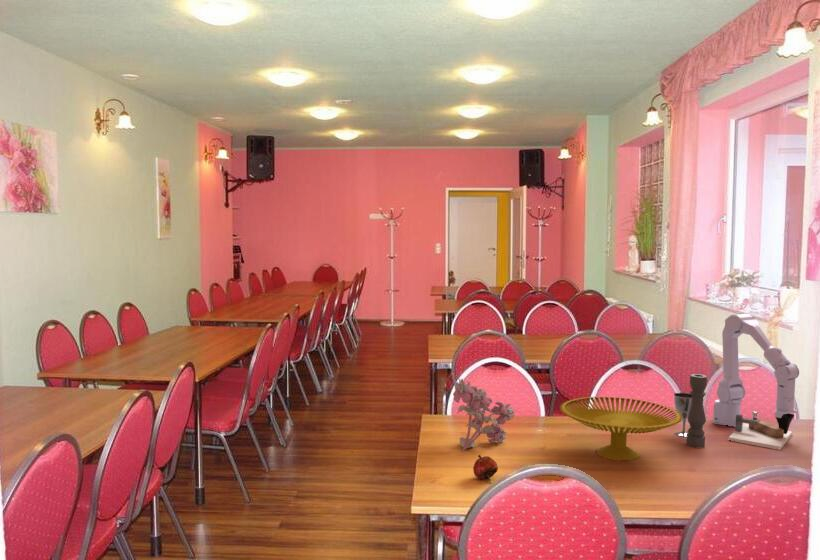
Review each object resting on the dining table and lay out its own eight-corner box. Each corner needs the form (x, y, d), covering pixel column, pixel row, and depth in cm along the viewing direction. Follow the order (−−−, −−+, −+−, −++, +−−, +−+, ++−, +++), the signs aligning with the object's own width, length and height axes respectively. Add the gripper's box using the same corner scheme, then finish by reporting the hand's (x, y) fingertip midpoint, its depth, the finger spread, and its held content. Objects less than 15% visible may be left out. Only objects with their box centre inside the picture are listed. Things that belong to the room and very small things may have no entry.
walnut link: (746, 426, 271) (746, 418, 271) (755, 425, 272) (755, 418, 272) (775, 438, 257) (775, 430, 257) (784, 437, 258) (785, 429, 258)
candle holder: (706, 448, 250) (709, 378, 248) (687, 446, 251) (690, 377, 249) (702, 442, 256) (706, 374, 254) (684, 441, 257) (687, 373, 255)
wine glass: (670, 435, 264) (672, 396, 263) (673, 430, 271) (675, 391, 270) (693, 439, 260) (695, 398, 259) (696, 433, 267) (698, 394, 266)
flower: (509, 456, 234) (520, 383, 242) (442, 445, 238) (454, 372, 246) (509, 464, 252) (519, 395, 260) (447, 452, 256) (458, 385, 265)
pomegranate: (500, 487, 217) (491, 459, 224) (503, 474, 212) (494, 446, 219) (477, 491, 216) (468, 463, 223) (479, 478, 211) (470, 450, 218)
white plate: (728, 440, 259) (728, 437, 259) (743, 426, 277) (743, 423, 277) (780, 449, 249) (780, 446, 249) (791, 434, 267) (792, 431, 267)
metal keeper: (735, 430, 267) (736, 415, 266) (736, 429, 268) (737, 414, 268) (757, 434, 262) (757, 418, 262) (758, 433, 264) (759, 417, 263)
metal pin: (750, 419, 270) (751, 412, 269) (752, 418, 271) (752, 410, 271) (757, 420, 268) (758, 413, 268) (759, 419, 270) (759, 411, 270)
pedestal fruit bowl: (595, 480, 218) (597, 432, 217) (538, 440, 257) (539, 399, 255) (707, 469, 229) (710, 423, 227) (636, 432, 267) (637, 393, 266)
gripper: (790, 402, 251) (788, 439, 252) (803, 395, 261) (801, 431, 262) (769, 398, 256) (767, 435, 257) (783, 392, 266) (781, 427, 267)
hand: (783, 433), depth 260 cm, fingers closed
